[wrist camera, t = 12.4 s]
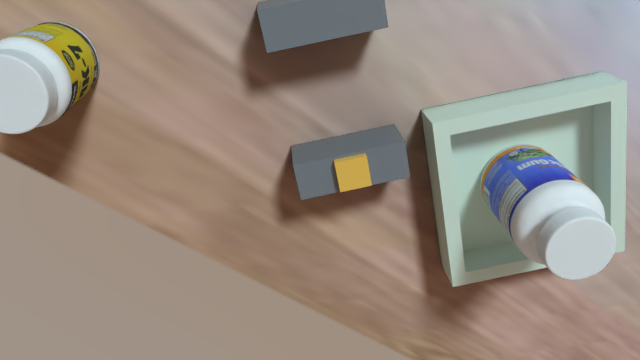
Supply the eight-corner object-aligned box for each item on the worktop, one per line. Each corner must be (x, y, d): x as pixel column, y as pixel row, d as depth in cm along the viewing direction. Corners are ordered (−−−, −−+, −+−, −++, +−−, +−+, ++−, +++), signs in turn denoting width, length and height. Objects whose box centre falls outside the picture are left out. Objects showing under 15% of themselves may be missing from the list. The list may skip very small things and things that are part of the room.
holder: (258, 2, 36) (256, 11, 32) (371, -22, 36) (383, -16, 32) (298, 178, 41) (301, 203, 37) (399, 157, 41) (412, 180, 37)
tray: (420, 109, 39) (432, 123, 37) (602, 71, 39) (627, 82, 37) (441, 264, 44) (452, 287, 41) (602, 230, 44) (624, 251, 41)
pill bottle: (567, 150, 41) (649, 214, 32) (537, 219, 43) (606, 298, 34) (493, 134, 40) (556, 195, 31) (466, 205, 42) (518, 282, 33)
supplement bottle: (103, 100, 38) (60, 146, 30) (24, 96, 37) (-40, 140, 29) (98, 23, 36) (51, 50, 28) (16, 16, 35) (-55, 42, 27)
